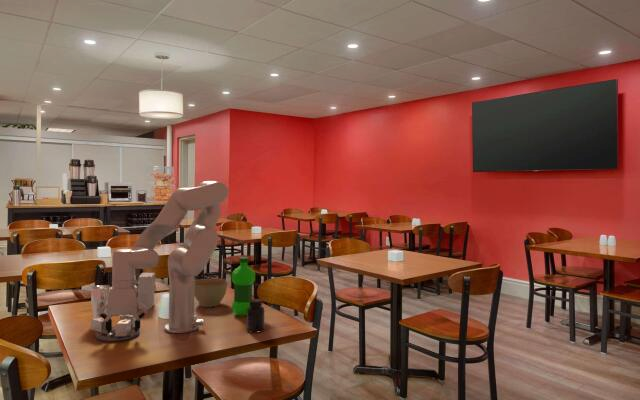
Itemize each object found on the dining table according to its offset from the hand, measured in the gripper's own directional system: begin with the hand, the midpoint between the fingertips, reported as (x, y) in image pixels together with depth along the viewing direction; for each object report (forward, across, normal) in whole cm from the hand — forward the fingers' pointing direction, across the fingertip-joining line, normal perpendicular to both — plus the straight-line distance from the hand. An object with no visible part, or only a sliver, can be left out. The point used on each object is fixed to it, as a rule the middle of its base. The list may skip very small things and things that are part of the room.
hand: (123, 330), depth 165 cm
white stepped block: (+2, 0, -10) cm, 11 cm away
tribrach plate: (+3, +3, -5) cm, 7 cm away
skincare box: (+3, 0, -44) cm, 44 cm away
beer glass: (+3, +13, -19) cm, 23 cm away
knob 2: (+2, 0, 0) cm, 2 cm away
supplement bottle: (+3, -48, -6) cm, 48 cm away
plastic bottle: (+3, -43, -28) cm, 51 cm away
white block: (+2, +9, -5) cm, 11 cm away
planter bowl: (+3, -28, -45) cm, 53 cm away
